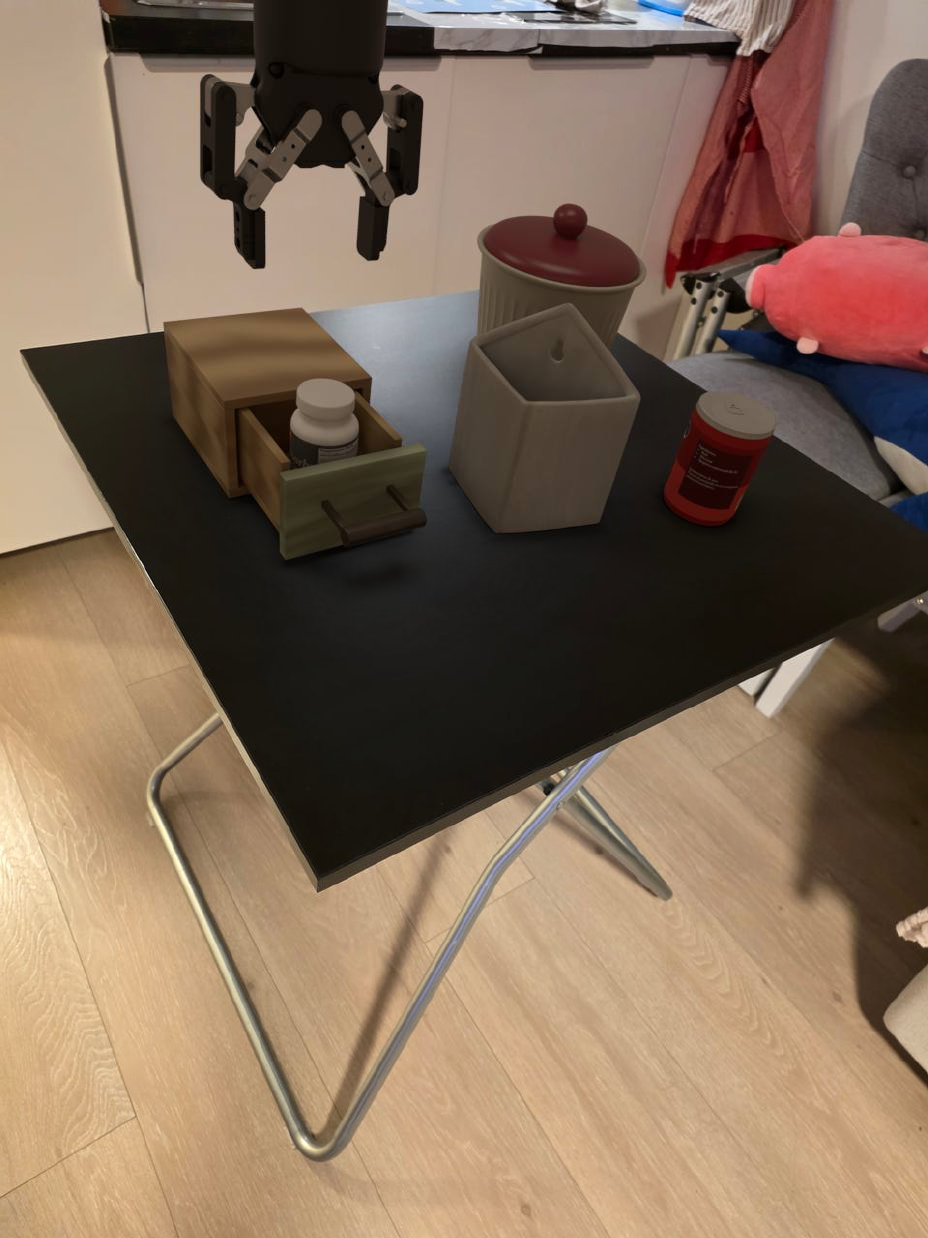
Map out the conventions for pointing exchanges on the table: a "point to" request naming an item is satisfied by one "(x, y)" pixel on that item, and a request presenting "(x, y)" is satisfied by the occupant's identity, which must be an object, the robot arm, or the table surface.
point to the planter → (541, 423)
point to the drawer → (330, 481)
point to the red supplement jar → (718, 457)
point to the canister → (555, 272)
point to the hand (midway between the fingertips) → (312, 260)
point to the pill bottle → (323, 424)
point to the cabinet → (246, 375)
